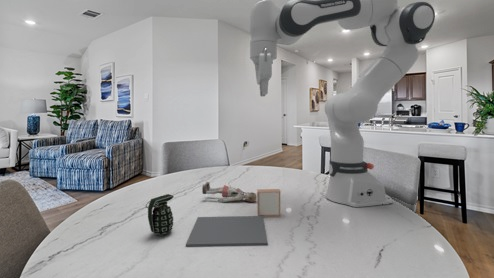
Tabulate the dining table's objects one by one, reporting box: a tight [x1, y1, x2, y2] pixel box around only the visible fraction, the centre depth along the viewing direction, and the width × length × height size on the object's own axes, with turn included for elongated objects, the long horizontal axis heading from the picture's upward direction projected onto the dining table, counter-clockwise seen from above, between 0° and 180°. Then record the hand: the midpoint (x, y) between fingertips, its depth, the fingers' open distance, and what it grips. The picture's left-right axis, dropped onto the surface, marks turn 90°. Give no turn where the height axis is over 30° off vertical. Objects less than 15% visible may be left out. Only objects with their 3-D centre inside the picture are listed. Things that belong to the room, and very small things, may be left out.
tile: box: [256, 188, 281, 218], centre depth 79 cm, size 7×3×8 cm, turn 91°
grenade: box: [145, 193, 174, 237], centre depth 67 cm, size 7×6×10 cm
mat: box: [185, 215, 269, 248], centre depth 69 cm, size 20×16×1 cm
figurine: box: [201, 181, 257, 203], centre depth 93 cm, size 6×6×20 cm
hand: (263, 95), depth 85 cm, fingers open, 8 cm apart
